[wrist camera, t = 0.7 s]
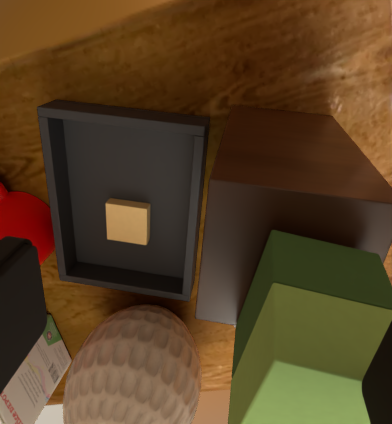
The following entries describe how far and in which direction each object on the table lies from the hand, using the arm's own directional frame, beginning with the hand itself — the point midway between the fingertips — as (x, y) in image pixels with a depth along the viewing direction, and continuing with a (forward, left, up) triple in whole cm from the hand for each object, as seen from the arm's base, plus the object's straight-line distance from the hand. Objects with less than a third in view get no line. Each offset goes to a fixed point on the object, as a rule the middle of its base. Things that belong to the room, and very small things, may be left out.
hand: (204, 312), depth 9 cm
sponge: (+4, +4, -6) cm, 8 cm away
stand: (+3, +3, -23) cm, 23 cm away
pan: (+9, -9, -23) cm, 26 cm away
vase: (+25, -7, -23) cm, 35 cm away
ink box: (+31, -21, -23) cm, 44 cm away
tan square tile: (+11, -9, -22) cm, 26 cm away
